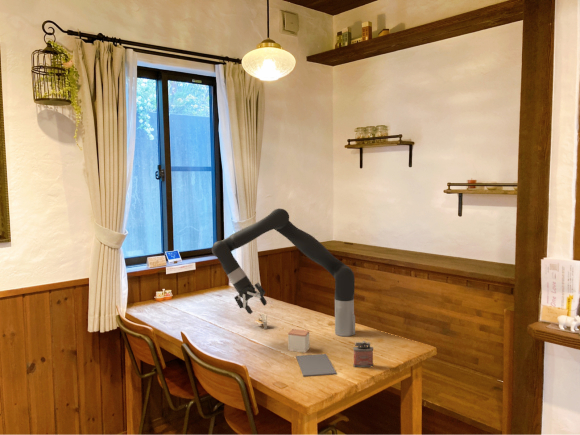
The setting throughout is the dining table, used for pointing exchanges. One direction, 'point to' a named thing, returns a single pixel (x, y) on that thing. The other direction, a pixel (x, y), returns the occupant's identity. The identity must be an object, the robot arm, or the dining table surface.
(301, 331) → the block
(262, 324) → the architectural model
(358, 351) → the lighter
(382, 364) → the dining table surface
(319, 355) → the mat
